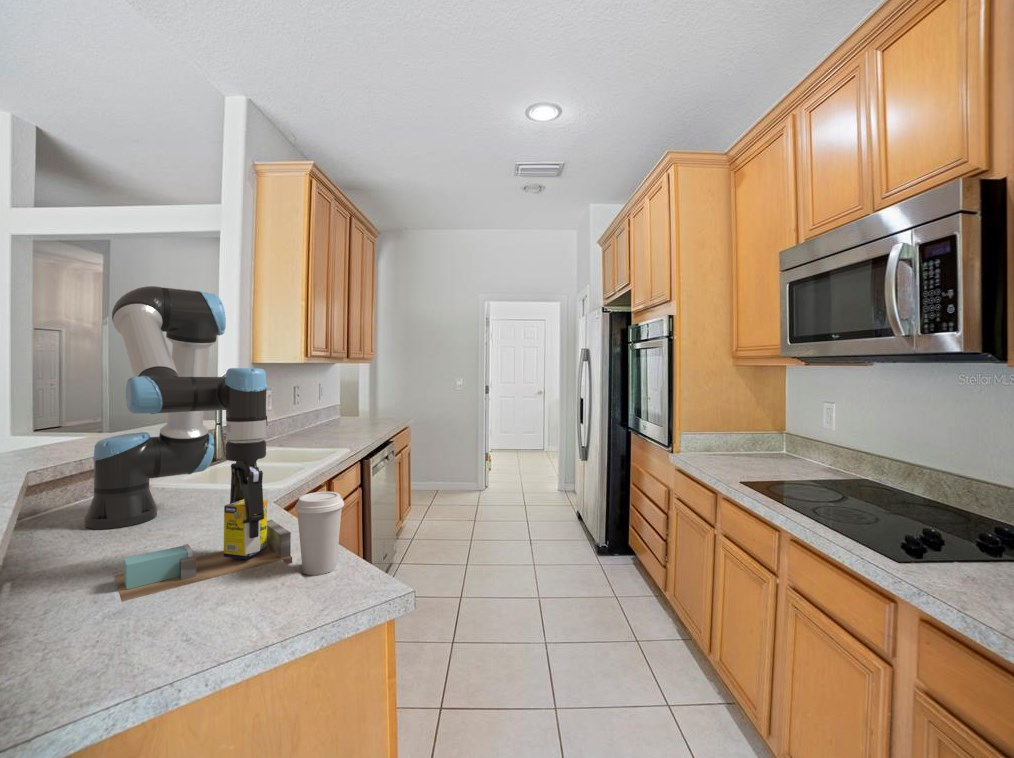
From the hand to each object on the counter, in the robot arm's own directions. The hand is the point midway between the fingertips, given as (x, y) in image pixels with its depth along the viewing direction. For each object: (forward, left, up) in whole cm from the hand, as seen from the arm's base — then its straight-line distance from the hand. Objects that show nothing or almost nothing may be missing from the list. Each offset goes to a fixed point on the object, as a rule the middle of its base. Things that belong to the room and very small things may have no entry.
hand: (246, 546), depth 99 cm
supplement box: (0, 0, -2) cm, 2 cm away
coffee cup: (+14, +10, -4) cm, 18 cm away
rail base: (0, -7, -3) cm, 8 cm away
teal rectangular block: (0, -15, -2) cm, 15 cm away
